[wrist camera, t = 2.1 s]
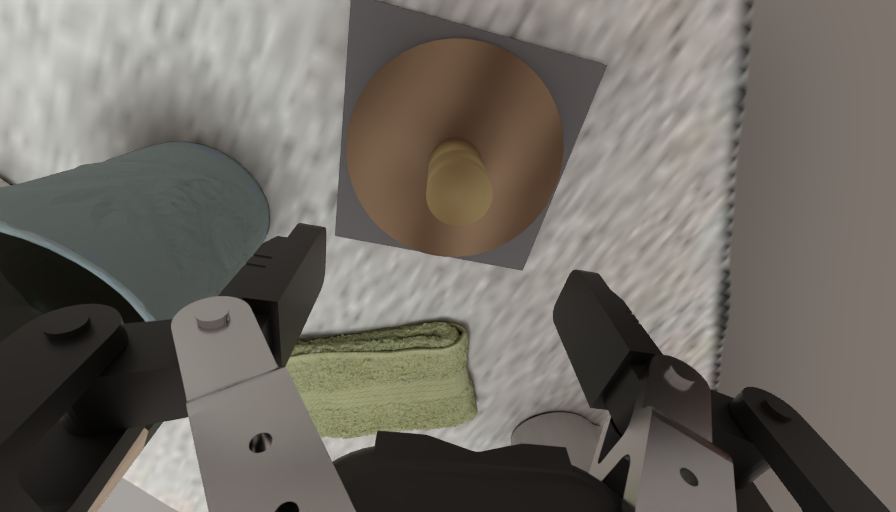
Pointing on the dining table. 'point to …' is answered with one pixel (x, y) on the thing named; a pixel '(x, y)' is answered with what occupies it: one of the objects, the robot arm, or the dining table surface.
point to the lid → (454, 147)
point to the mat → (397, 30)
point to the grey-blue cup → (128, 234)
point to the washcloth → (385, 380)
